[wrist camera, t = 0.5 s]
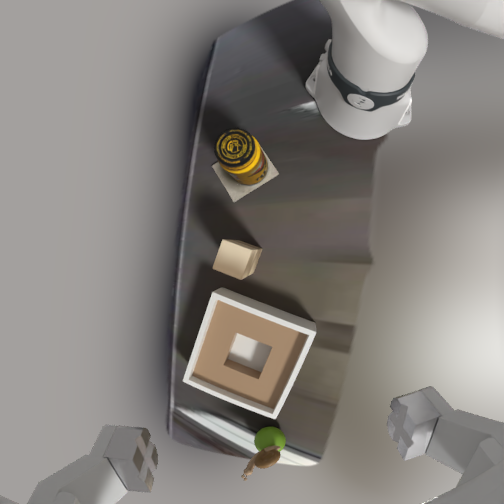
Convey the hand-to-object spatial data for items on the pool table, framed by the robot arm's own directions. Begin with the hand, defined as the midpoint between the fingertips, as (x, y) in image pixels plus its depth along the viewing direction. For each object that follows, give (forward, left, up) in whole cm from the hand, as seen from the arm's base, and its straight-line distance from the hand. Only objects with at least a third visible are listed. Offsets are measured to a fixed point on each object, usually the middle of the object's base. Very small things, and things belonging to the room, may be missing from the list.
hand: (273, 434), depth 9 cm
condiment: (-14, -14, -40) cm, 45 cm away
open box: (+13, -3, -40) cm, 42 cm away
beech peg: (-1, -9, -40) cm, 41 cm away
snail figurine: (+28, +6, -40) cm, 50 cm away
